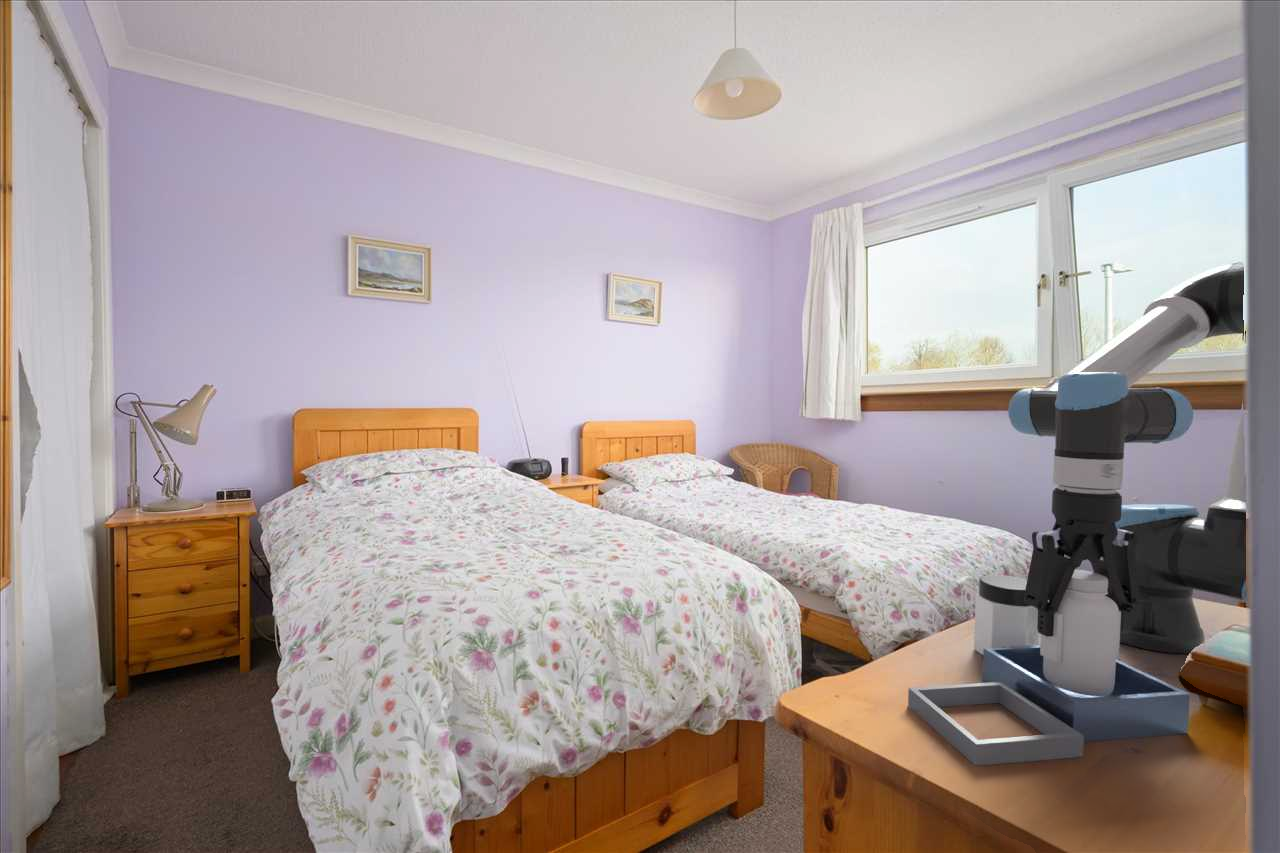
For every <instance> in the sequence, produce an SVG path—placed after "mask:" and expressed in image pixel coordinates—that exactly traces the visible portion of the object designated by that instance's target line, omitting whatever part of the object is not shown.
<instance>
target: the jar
mask: <svg viewBox="0 0 1280 853" xmlns="http://www.w3.org/2000/svg"><path fill="white" fill-rule="evenodd" d="M978 579H979V580H978V582H979V583H978V593H976V594H975V606H974V607H975V610H974V633H973V636H974V637H973V650H974V651H976V652H977V653H979V654H980V655H982V656H983V650H984V648H995V647H1013V646H1031V645H1040V633H1039V632H1038V629H1037V625H1038V609H1037V608H1035V607H1033V606H1031V605H1029V604H1027V603H1025V602H1024V594H1025V589H1026V584H1027V579H1025V578H1021V577H1018V576H1017V577H1016V576H1010V575H1004V574H1003V575H1002V574H989V575H982V576H980V578H978Z"/></svg>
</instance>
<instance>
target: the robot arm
mask: <svg viewBox="0 0 1280 853" xmlns="http://www.w3.org/2000/svg"><path fill="white" fill-rule="evenodd" d="M1243 262H1244V261H1243ZM1243 262H1239V261H1238V262H1236V263H1235V262H1234V263H1228V264H1225V265H1221V266H1217V267H1215V268H1212V269H1209V270H1207V271H1204V272H1203V273H1201V274H1197V275H1196V276H1194V277H1191V278H1190V279H1188V280H1186V281H1184V282H1182V283H1181V284H1178V285H1176V286H1174V288H1171V289H1170V290H1168V291H1167V292H1165V293H1164V294H1162V295H1161V296H1159V297H1158V298H1157V299H1155V300H1153V302H1151V303H1150V304H1149V305H1147V307H1146V308H1145V309H1144V312H1143V316H1142V317H1141V318H1140V319H1138V320H1136V321H1135V322H1134V323H1132V324H1131V325H1129V326H1128V327H1127V328H1125V329H1124V330H1123V331H1121V332H1120V333H1119V334H1117V335H1116V336H1115V337H1113V338H1112V339H1111V340H1109V341H1108V342H1106V343H1105V344H1103V345H1102V346H1100V347H1099V348H1097V349H1096V350H1095V351H1093V352H1092V353H1091V354H1090V355H1088V356H1087V357H1086V358H1084V359H1082V360H1081V361H1080V362H1078V363H1077V364H1076V365H1074V366H1073V367H1071V368H1070V369H1069V370H1067V371H1066V372H1065V373H1063V374H1062V375H1060V376H1059V377H1058V378H1056V379H1055V380H1053V381H1052V382H1050V383H1049V384H1048V385H1046V386H1044V387H1040V388H1039V387H1037V386H1035V387H1031V388H1023V389H1020V390H1018V391H1017V392H1016V393H1015V394H1014V395H1013V396H1012V397H1011V399H1010V400H1009V401H1010V402H1009V405H1008V410H1007V412H1008V418H1009V421H1010V423H1011V425H1012V427H1013V428H1014V429H1015V430H1016V431H1017V432H1019V433H1022V434H1026V435H1033V436H1038V437H1053V438H1055V448H1054V455H1053V467H1052V468H1053V471H1052V472H1053V473H1052V484H1054V485H1055V486H1057V487H1055V488H1054V489H1053V490H1052V493H1051V494H1052V496H1051V513H1052V514H1053V516H1054V519H1055V523H1054V524H1053V527H1052V529H1051V530H1049V531H1046V532H1045V531H1044V532H1041V531H1038V530H1035V531H1033V532H1032V533H1031V542H1032V547H1033V550H1032V554H1031V560H1030V563H1029V564H1030V565H1029V568H1028V569H1029V571H1028V573H1027V574H1028V575H1027V579H1026V580H1027V584H1026V589H1025V594H1024V602H1025V603H1027V604H1029V605H1031V606H1033V607H1035V608H1037V609H1038V625H1037V629H1038V632H1039V634H1040V643H1039V645H1040V655H1042V656H1044V657H1045V658H1047V659H1049V660H1051V661H1053V662H1055V663H1061V652H1062V629H1063V614H1061V613H1059V612H1057V610H1058V608H1059V606H1060V603H1061V601H1062V599H1063V596H1064V594H1065V592H1066V589H1067V587H1068V585H1069V582H1070V580H1071V578H1072V575H1073V573H1074V571H1075V570H1077V568H1079V567H1081V565H1082V563H1083V562H1084V561H1089V562H1090V564H1091V568H1092V570H1093V572H1094V573H1098V574H1101V575H1103V576H1105V577H1106V578H1107V579H1108V589H1107V591H1108V594H1106V595H1105V596H1107V597H1109V598H1111V599H1112V600H1113V601H1114V602H1115V603H1116V604H1117V606H1118V609H1119V623H1118V639H1117V654H1116V659H1117V660H1120V646H1121V645H1120V643H1121V644H1125V645H1128V646H1132V647H1135V648H1140V649H1144V650H1149V651H1154V652H1163V653H1167V654H1168V653H1169V654H1170V653H1171V654H1192V653H1191V651H1192V650H1193V649H1194V648H1195V647H1197V646H1199V645H1200V644H1202V643H1204V644H1205V639H1206V638H1205V637H1206V636H1205V632H1204V630H1203V628H1202V627H1201V624H1200V620H1199V617H1198V613H1197V608H1196V606H1195V604H1194V603H1195V602H1194V599H1193V596H1194V595H1193V594H1194V590H1196V591H1200V592H1204V593H1207V594H1211V595H1215V596H1219V597H1222V598H1227V599H1230V600H1235V601H1238V602H1242V603H1244V604H1246V605H1248V604H1247V600H1246V476H1245V437H1244V414H1243V402H1242V404H1241V408H1240V410H1241V411H1240V415H1239V420H1238V424H1237V430H1236V434H1235V440H1234V441H1235V442H1234V445H1233V450H1232V454H1231V460H1230V461H1231V462H1230V465H1229V470H1228V475H1227V479H1226V480H1227V481H1226V485H1225V491H1224V494H1223V495H1224V496H1223V497H1222V498H1221V499H1220V500H1218V501H1216V502H1214V503H1213V504H1210V505H1208V510H1207V515H1206V517H1201V516H1200V517H1199V515H1200V513H1199V511H1198V508H1197V507H1196V506H1193V505H1187V504H1170V503H1169V504H1168V503H1167V504H1165V503H1161V504H1159V503H1152V504H1151V503H1145V504H1144V503H1143V504H1141V503H1140V504H1138V503H1137V504H1123V496H1122V495H1121V493H1119V492H1117V491H1119V490H1121V489H1122V487H1123V474H1124V473H1123V472H1124V458H1125V457H1124V456H1125V455H1124V454H1125V444H1135V443H1136V444H1139V443H1140V444H1143V443H1144V444H1145V443H1146V444H1147V443H1148V444H1149V443H1150V444H1153V445H1154V444H1160V443H1163V442H1170V441H1174V440H1176V439H1179V438H1180V437H1182V436H1183V435H1184V434H1186V433H1187V431H1188V430H1189V429H1190V428H1191V426H1192V424H1193V420H1194V411H1193V407H1192V404H1191V402H1190V401H1189V399H1188V398H1187V396H1185V395H1183V393H1180V392H1179V391H1176V390H1173V389H1169V388H1162V387H1160V386H1157V387H1131V386H1133V385H1134V384H1136V383H1137V382H1138V381H1140V380H1141V379H1142V378H1144V377H1145V376H1147V374H1149V373H1150V372H1152V371H1153V370H1154V369H1156V368H1157V367H1158V366H1159V365H1161V364H1162V363H1163V362H1165V361H1166V360H1168V359H1169V358H1170V357H1172V356H1173V355H1174V354H1176V353H1177V352H1178V351H1180V350H1181V349H1186V348H1191V347H1194V346H1196V345H1198V344H1200V343H1201V342H1202V341H1204V340H1206V339H1209V338H1211V337H1218V336H1225V335H1234V334H1235V335H1236V334H1241V335H1242V337H1241V339H1242V340H1241V341H1243V342H1244V320H1243V295H1244V264H1243ZM1244 343H1245V344H1246V331H1245V342H1244ZM1048 600H1049V602H1048Z"/></svg>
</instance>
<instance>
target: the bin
mask: <svg viewBox="0 0 1280 853" xmlns="http://www.w3.org/2000/svg"><path fill="white" fill-rule="evenodd" d="M982 656H983V659H982V676H981V677H982V681H981V683H990V682H1002V683H1003V684H1005V685H1006V686H1008V687H1010V688H1011V689H1013V690H1014V691H1016V692H1017V693H1019V694H1020V695H1022V696H1023V697H1025V698H1026V699H1028V700H1030V701H1031V702H1033V703H1034V704H1036V705H1037V706H1039V707H1040V708H1042V709H1043V710H1045V711H1046V712H1048V713H1050V714H1051V715H1053V716H1054V717H1056V718H1057V719H1059V720H1060V721H1062V722H1063V723H1065V724H1067V725H1068V726H1070V727H1071V728H1073V729H1074V730H1076V731H1077V732H1079V733H1080V734H1082V735H1083V736H1084V742H1085V743H1086V742H1095V741H1098V742H1099V741H1106V740H1107V741H1108V740H1110V741H1111V740H1119V739H1120V740H1121V739H1133V738H1142V737H1143V738H1145V737H1146V738H1147V737H1158V736H1170V735H1171V736H1172V735H1182V734H1188V731H1189V714H1190V697H1191V696H1190V695H1191V694H1190V693H1189V692H1186V691H1184V690H1182V689H1180V688H1178V687H1176V686H1173V685H1172V684H1169V683H1167V682H1165V681H1163V680H1160V679H1159V678H1157V677H1155V676H1154V675H1150V674H1148V673H1147V672H1145V671H1142V670H1140V669H1138V668H1135V667H1134V666H1131V665H1130V664H1128V663H1125V662H1124V661H1121V660H1120V659H1116V670H1115V685H1114V689H1113V692H1112V693H1111V694H1109V695H1105V696H1090V695H1083V694H1078V693H1074V692H1071V691H1068V690H1065V689H1062V688H1060V687H1058V686H1056V685H1054V684H1052V683H1051V682H1049V681H1048V680H1047V679H1046V678H1045V676H1044V674H1043V658H1044V656H1042V655H1040V644H1039V645H1031V646H1013V647H995V648H984V650H983V655H982Z"/></svg>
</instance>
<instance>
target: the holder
mask: <svg viewBox="0 0 1280 853" xmlns="http://www.w3.org/2000/svg"><path fill="white" fill-rule="evenodd" d="M907 695H908V697H907V700H908V701H907V702H908V703H907V706H908V708H910V709H911V710H912V711H913V712H914V713H915V714H917V715H918V716H919V717H920V718H921V719H922V720H924V721H925V723H927V724H928V725H929V726H930V727H931V728H933V729H934V730H935V731H936V732H937V733H938V734H939V735H940V736H942V738H944V739H945V740H946V741H947V742H948V743H949V744H950V745H951V746H953V747H954V748H955V749H956V750H957V751H958V752H960V754H962V756H964V757H965V758H967V760H968V761H970V762H971V763H972V764H973V766H975V767H977V766H978V767H980V766H988V765H990V766H991V765H999V764H1012V763H1024V762H1037V761H1039V762H1040V761H1048V760H1060V759H1071V758H1072V759H1073V758H1083V757H1084V746H1085V745H1084V736H1083V735H1082V734H1080V733H1079V732H1077V731H1076V730H1074V729H1073V728H1071V727H1070V726H1068V725H1067V724H1065V723H1063V722H1062V721H1060V720H1059V719H1057V718H1056V717H1054V716H1053V715H1051V714H1050V713H1048V712H1046V711H1045V710H1043V709H1042V708H1040V707H1039V706H1037V705H1036V704H1034V703H1033V702H1031V701H1030V700H1028V699H1026V698H1025V697H1023V696H1022V695H1020V694H1019V693H1017V692H1016V691H1014V690H1013V689H1011V688H1010V687H1008V686H1006V685H1005V684H1003V683H1002V682H990V683H984V682H977V683H961V684H947V685H945V684H943V685H931V686H917V687H916V686H913V687H908V694H907ZM983 704H986V705H987V704H1000V705H1002V706H1003V707H1004V708H1006V709H1007V710H1009V711H1010V712H1012V713H1013V714H1014V715H1015V716H1017V717H1019V718H1020V719H1022V721H1025V723H1027V724H1029V725H1030V726H1031V727H1032V728H1035V729H1036V730H1037V731H1039V732H1040V733H1042V734H1037V735H1025V736H1024V735H1023V736H1014V737H1013V736H1012V737H999V738H985V739H984V738H983V739H978V738H977V737H975V736H974V735H973V734H972V733H971V732H969V731H968V730H967V729H966V728H964V726H962V725H961V724H959V722H957V721H956V720H955V719H953V718H952V716H949V715H948V714H947V713H946V712H945V711H944V710H942V709H941V708H942V707H957V706H971V705H983Z"/></svg>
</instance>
